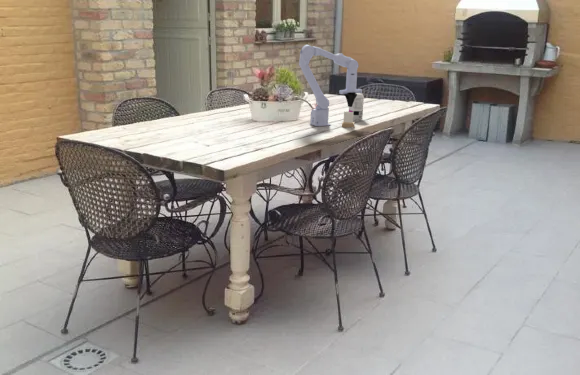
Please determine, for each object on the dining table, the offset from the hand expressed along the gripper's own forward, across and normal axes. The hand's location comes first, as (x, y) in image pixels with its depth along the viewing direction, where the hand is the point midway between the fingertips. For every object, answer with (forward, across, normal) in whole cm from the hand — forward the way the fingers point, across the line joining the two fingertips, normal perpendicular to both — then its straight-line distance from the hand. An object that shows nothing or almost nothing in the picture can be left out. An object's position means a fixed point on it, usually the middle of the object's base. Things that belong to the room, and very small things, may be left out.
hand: (350, 106), depth 342 cm
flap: (+8, +4, +4) cm, 10 cm away
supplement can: (+11, -16, -14) cm, 23 cm away
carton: (+10, +3, +2) cm, 11 cm away
